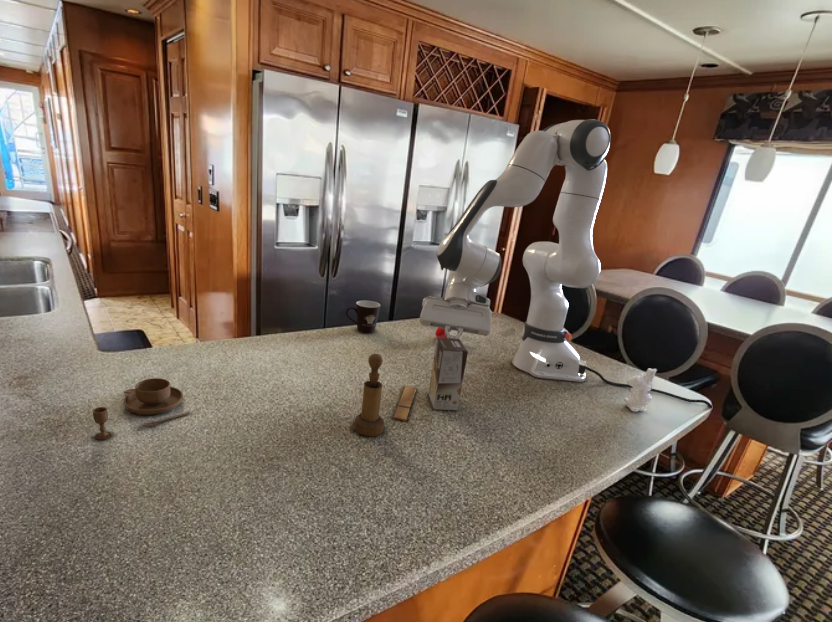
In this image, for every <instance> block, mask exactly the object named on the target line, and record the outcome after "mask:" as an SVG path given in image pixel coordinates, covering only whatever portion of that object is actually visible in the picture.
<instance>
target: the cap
mask: <svg viewBox="0 0 832 622" xmlns="http://www.w3.org/2000/svg"><path fill="white" fill-rule="evenodd" d="M444 331H445V329H442V328H436V330H435V334H434V335H435V337H436V338H447V337H446V334H445V332H444ZM451 331H452V330H450V331H449V333H450V332H451Z"/></svg>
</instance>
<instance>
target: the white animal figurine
mask: <svg viewBox="0 0 832 622" xmlns="http://www.w3.org/2000/svg"><path fill="white" fill-rule="evenodd" d="M657 371H658V369H657V368H650V367H649V368H647V369H646V371H645V373H644V374H643V373H642V372H639V373H637V374H636V375H632V376H631V377H630V378H629V379H628V380H626V384H628V385H630V386H632V387H633V388H630V390H629V391H630V393H631V394H629V395H628V396H627V397H624V398H623V401H624V403H625V406H626V407H628V408H629V409H630V411H632V412H633V413H637V412H639V411H640V412H644V413H647V409H646V408H645V407H647V406H648V405H649V404H650V403H651V401H652V399H653V398H652V395H651V394H650V393H649V392H651V391H650V390H651V389H653V387H654V386H653V385H654V384H653V379H654V377H655V376H656V373H657Z"/></svg>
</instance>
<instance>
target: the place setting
mask: <svg viewBox="0 0 832 622" xmlns="http://www.w3.org/2000/svg"><path fill="white" fill-rule="evenodd" d="M123 393H124V394H127V395H125V397H124V398H123V405H124V407H125V408H126V409H127V411H130V412H131V413H133V414H137V415H145V416H153V415H160V414H164V413H167V412H169V411H171V410H174V409H176V408H177V407H178V406H179V405H180V404H181V403H182V402H183V398H184V394H183V391H182V390H181V389H180V388H177V387H174V386H171V383H170V381H169V380H167V379H164V378H160V377H159V378H158V377H155V378H153V377H152V378H147V379H143V380H141V381H139V382H137V383H136V384H135V386H134V388H129V389H126V390H124V391H123ZM187 415H189V412H186V413H185V412H184V413H182V414H177V415H175V416H174V415H173V416H171V417H167V418H163V419H160V420H157V421H153V422H152V421H151V422H144V423H143V422H142V423H140V425H142V427H145V426H146V427H154V426H157V425H158V424H159V423H161V422H166V421H170V420H173V419H176V418H180V417H183V416H187ZM92 417H93V421H94V423H95V424H97V425H99V429H98V430H99V432H98V433H97V434H95V436H94V438H95V439H96V440H97V441H105V440H109V439H110V438H112V435H113V434H112V432H110V431H106V429H107V428H106V426H105V423H107V422H108V420H109V412H108V407H105V406H98V407H95V408H93V410H92Z"/></svg>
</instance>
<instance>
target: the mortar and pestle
mask: <svg viewBox="0 0 832 622" xmlns="http://www.w3.org/2000/svg"><path fill="white" fill-rule="evenodd" d="M383 360H384V359H383V357H382V355H381V354H379V353H372V354H370V356H369V357H368V360H367V361H368V365H369V367H370V372H369V373H368V378H369V380H366V381H365V382H364V383H363V394H362V404H361V412H360V413H359V414H357V415H356V416H355V417H354V422H353V430H354V432H356V433H357V434H360V435H363V436H365V437H376V436H380V435H381V434H382V433H383V432H384V427H385V426H384V425H385V420H384V418H383V417H382V416H381V415H380V408H381V407H380V406H381V399H382V391H383V384H382V382H380V381H379V379H380V377H381V376H380V373H379V369H380V368H381V366H382V365H383Z"/></svg>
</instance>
